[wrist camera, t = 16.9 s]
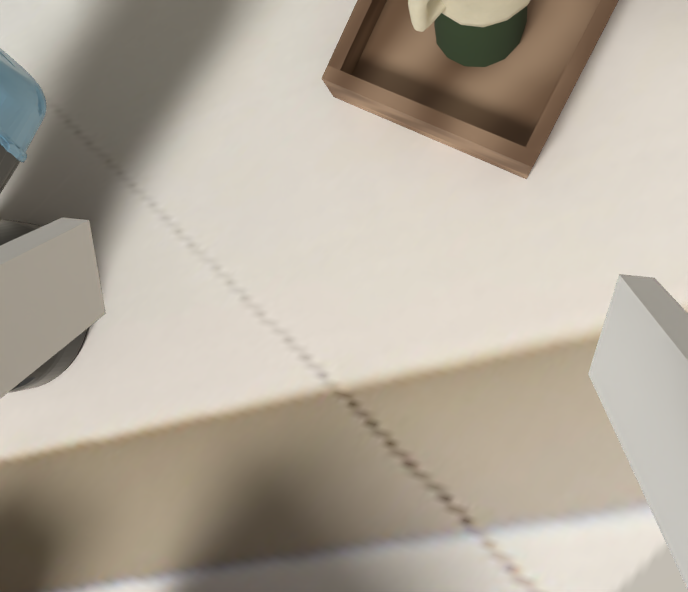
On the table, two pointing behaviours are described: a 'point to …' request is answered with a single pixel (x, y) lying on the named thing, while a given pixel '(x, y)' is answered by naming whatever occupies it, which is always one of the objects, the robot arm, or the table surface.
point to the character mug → (472, 27)
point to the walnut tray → (467, 78)
